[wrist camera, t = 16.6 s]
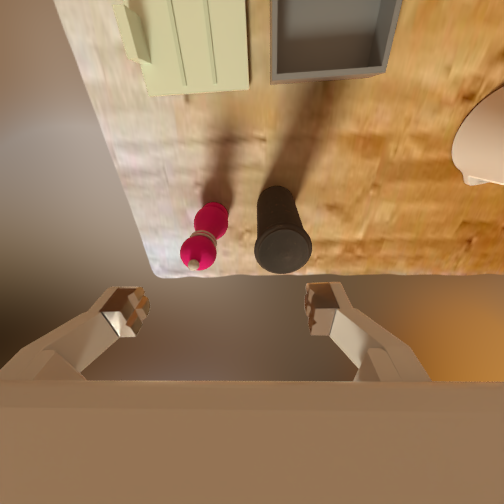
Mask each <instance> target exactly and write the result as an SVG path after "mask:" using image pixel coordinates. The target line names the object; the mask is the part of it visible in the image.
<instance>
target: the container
mask: <svg viewBox="0 0 504 504" xmlns="http://www.w3.org/2000/svg"><path fill="white" fill-rule="evenodd" d="M311 252H312V243H311V239H310V237H309V235H308V234H307V232H306V231H305V230H304V229H303V226H302V223H301V220H300V217H299V214H298V211H297V208H296V205H295V202H294V199H293V196H292V194H291V193H290V191H289V190H288V189H286V188H284V187H281V186H273V187H270V188H268V189H266V190H265V191H264V192H263V193H262V194H261V195H260V197H259V199H258V202H257V240H256V243H255V247H254V253H255V258H256V260H257V262H258V263H259V265H260V266H261V267H262V268H264V269H265V270H267V271H269V272H272V273H277V274H286V273H291V272H294V271H296V270H298V269H300V268H301V267H303V266H304V265H305V264H306V263H307V261H308V260H309V258H310V256H311Z"/></svg>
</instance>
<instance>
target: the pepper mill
mask: <svg viewBox="0 0 504 504" xmlns="http://www.w3.org/2000/svg"><path fill="white" fill-rule="evenodd" d="M194 227H195V232H194V233H192V235H191V236H190V238H188V239H187V240H186V241H185V242H184V243H183V245H182V246H181V250H180V256H181V259H182V261H183V263H184V264H185V265H186V266H187V267H188V268H189V269H190V270H192V271H195V270H204V269H207V268H208V267H210V266H211V265H212V264H213V263H214V261H215V259H216V253H217V252H216V246H217V241H216V240H217V239H219V238H221V237H222V236H223V235H224V234H225V232H226V230H227V228H228V212H227V210H226V208H225V207H224V206H223V205H221V204H219V203H216V202H210V203H207V204H206V205H205V206H204V207H203V208H202V209H200V210H199V211H198V212H197V214H196V216H195V219H194Z"/></svg>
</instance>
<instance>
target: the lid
mask: <svg viewBox="0 0 504 504" xmlns="http://www.w3.org/2000/svg"><path fill="white" fill-rule="evenodd" d="M123 3H124V4H118V5H112V7H113V10H114V14H115V17H116V21H117V24H118V27H119V31H120V34H121V38H122V41H123V45H124V48H125V51H126V55H127V58H128V59H129V60H132V61H135V62H137V63H140V66H141V70H142V73H143V77H144V81H145V84H146V88H147V92H148V95H149V97H154V96H168V95H182V94H197V93H211V92H225V91H239V90H249V71H248V50H247V29H246V8H245V0H123Z"/></svg>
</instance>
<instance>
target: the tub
mask: <svg viewBox="0 0 504 504" xmlns="http://www.w3.org/2000/svg"><path fill="white" fill-rule="evenodd" d="M401 4H402V0H270V85H273V84H287V83H301V82H315V81H329V80H342V79H356V78H369V77H372V76H375V75H378V74H382V73H385V71H386V67H387V63H388V59H389V55H390V50H391V46H392V42H393V38H394V33H395V29H396V25H397V21H398V17H399V12H400V8H401Z"/></svg>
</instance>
